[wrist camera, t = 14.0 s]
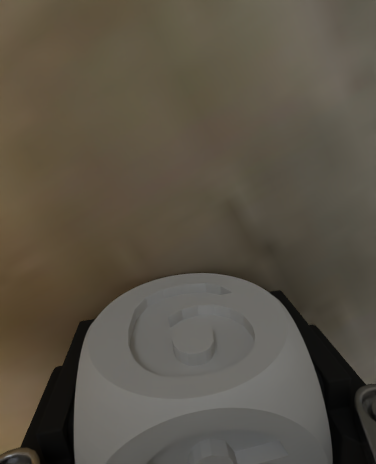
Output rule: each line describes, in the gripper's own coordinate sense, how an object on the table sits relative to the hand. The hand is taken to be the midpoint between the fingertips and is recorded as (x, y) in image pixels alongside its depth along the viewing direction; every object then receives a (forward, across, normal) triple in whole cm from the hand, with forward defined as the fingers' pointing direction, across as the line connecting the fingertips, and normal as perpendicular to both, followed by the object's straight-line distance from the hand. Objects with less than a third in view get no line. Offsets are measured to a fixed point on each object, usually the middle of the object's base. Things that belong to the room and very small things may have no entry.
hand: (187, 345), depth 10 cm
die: (+1, 0, 0) cm, 1 cm away
